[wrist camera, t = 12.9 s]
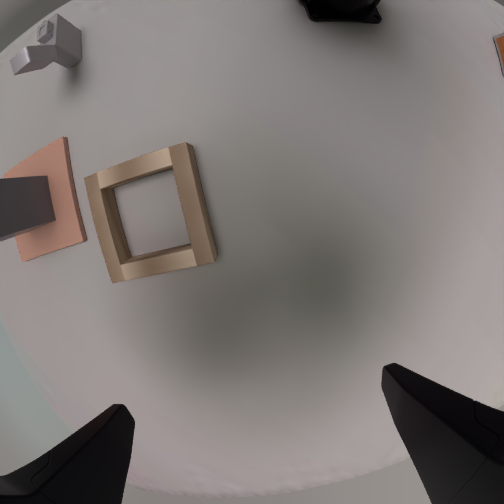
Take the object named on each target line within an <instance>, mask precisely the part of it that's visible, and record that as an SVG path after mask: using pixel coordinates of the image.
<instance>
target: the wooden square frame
mask: <svg viewBox="0 0 504 504" xmlns="http://www.w3.org/2000/svg"><path fill="white" fill-rule="evenodd" d="M172 168H173V171H174V176H175V180H176V185H177V189H178V193H179V198H180V202H181V206H182V210H183V214H184V218H185V222H186V226H187V230H188V234H189V238H190V242H191V244H187V245H183V246H178V247H174V248H170V249H165V250H161V251H157V252H152V253H148V254H144V255H140V256H135V257H131V256H130V252H129V249H128V245H127V242H126V238H125V235H124V231H123V227H122V224H121V220H120V216H119V212H118V208H117V203H116V199H115V195H114V190H113V187H116V186H119V185H122V184H125V183H128V182H131V181H134V180H137V179H140V178H143V177H146V176H149V175H152V174H156V173H159V172H162V171H165V170H169V169H172ZM84 180H85V185H86V190H87V195H88V199H89V204H90V208H91V212H92V216H93V220H94V224H95V228H96V232H97V235H98V239H99V243H100V246H101V249H102V253H103V256H104V259H105V263H106V266H107V269H108V272H109V275H110V278H111V281H112V283H117V282H121V281H126V280H131V279H136V278H141V277H146V276H151V275H156V274H160V273H165V272H170V271H175V270H180V269H185V268H190V267H194V266H199V265H204V264H209V263H214V262H215V260H216V257H217V255H218V253H217V249H216V245H215V241H214V237H213V233H212V229H211V225H210V221H209V216H208V212H207V208H206V204H205V199H204V195H203V191H202V186H201V182H200V177H199V173H198V169H197V164H196V159H195V155H194V150H193V146H192V145H190V144H188V143H187V142H185V143H181V144H178V145H174V146H171V147H168V148H165V149H161V150H158V151H155V152H152V153H149V154H146V155H143V156H140V157H137V158H134V159H132V160H129V161H126V162H123V163H121V164H118V165H115V166H113V167H110V168H108V169H105V170H102V171H100V172H98V173H95V174H93V175H90V176H88V177H86V178H84Z"/></svg>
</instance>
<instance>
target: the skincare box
mask: <svg viewBox="0 0 504 504" xmlns="http://www.w3.org/2000/svg"><path fill="white" fill-rule="evenodd" d="M493 38H494V41H495V44H496V48H497V51H498V55H499V59H500V63H501V67H502V73H503V76H504V33H501V34H499V35H497V36H494V37H493Z"/></svg>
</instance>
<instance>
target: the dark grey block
mask: <svg viewBox="0 0 504 504" xmlns="http://www.w3.org/2000/svg"><path fill="white" fill-rule="evenodd" d="M53 221H56V218H55V214H54V209H53V204H52V199H51V194H50V189H49V183H48V176H47V175H45V176H28V177H15V178H4V179H0V241H3V240H6V239H9V238H12V237H15V236H18V235H21V234H24V233H27V232H30V231H32V230H34V229H37V228H39V227H41V226H44V225H46V224H48V223H51V222H53Z"/></svg>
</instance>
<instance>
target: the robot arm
mask: <svg viewBox="0 0 504 504" xmlns="http://www.w3.org/2000/svg"><path fill="white" fill-rule="evenodd" d="M300 1H301V2H303V4H304V6H305V9H306V11H307V14H308V16H309V18H310V19H311V20H313V21H348V22H364V23H376V24H378V23H380V22H381V20H382V19H381V16H380V14H379V12H378V10H377V8H376V6H377V4H378V3H379V2H380V1H381V0H300ZM314 15H317V16H318V17H316V16H314ZM374 17H375V18H376V19H375V18H374ZM381 386H382V390H383V393H384V396H385V398H386V401H387V404H388V407H389V410H390V412H391V415H392V418H393V421H394V424H395V426H396V428H397V430H398V432H399V434H400V436H401V438H402V440H403V442H404V444H405V446H406V448H407V451H408V453H409V455H410V457H411V459H412V461H413V463H414V465H415V467H416V470H417V472H418V474H419V476H420V478H421V480H422V483H423V485H424V487H425V489H426V491H427V494H428V496H429V498H430V501H431V503H432V504H504V411H500V410H498V409H495V408H492V407H490V406H487V405H485V404H482V403H480V402H478V401H473V399H471V398H469V397H466V396H464V395H462V394H460V393H458V392H455V391H453V390H451V389H449V388H447V387H445V386H442V385H440V384H438V383H436V382H434V381H432V380H430V379H428V378H426V377H423V376H421V375H419V374H417V373H415V372H413V371H411V370H409V369H407V368H405V367H403V366H401V365H399V364H397V363H391V364H388V365H385V366H384V367H383V370H382V382H381ZM134 428H135V421H134V418H133V417H132V415H131V414H130V412H129V411H128V409H127V408H126V406H125V405H123V404H113V405H112V406H110V407H109V408H108V409H106V410H105V411H104V412H102V413H101V414H100V415H98V416H97V417H96V418H94V419H93V420H91V421H90V422H89V423H87V424H86V425H85V426H83V427H82V428H80V429H79V430H78V431H76V432H75V433H73V434H72V435H71V436H69V437H68V438H67V439H65V440H64V441H62V442H61V443H59V444H58V445H57V446H55V447H54V448H52V449H51V450H49V451H48V452H47V453H45V454H43V455H42V456H40V457H39V458H37V459H36V460H34V461H32V462H30V463H29V464H27V465H25V466H23V467H21V468H19V469H17V470H15V471H14V472H12V473H10V474H7V475H4V476H0V504H121V503H122V498H123V493H124V487H125V483H126V478H127V473H128V469H129V464H130V459H131V453H132V444H133V436H134Z"/></svg>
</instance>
